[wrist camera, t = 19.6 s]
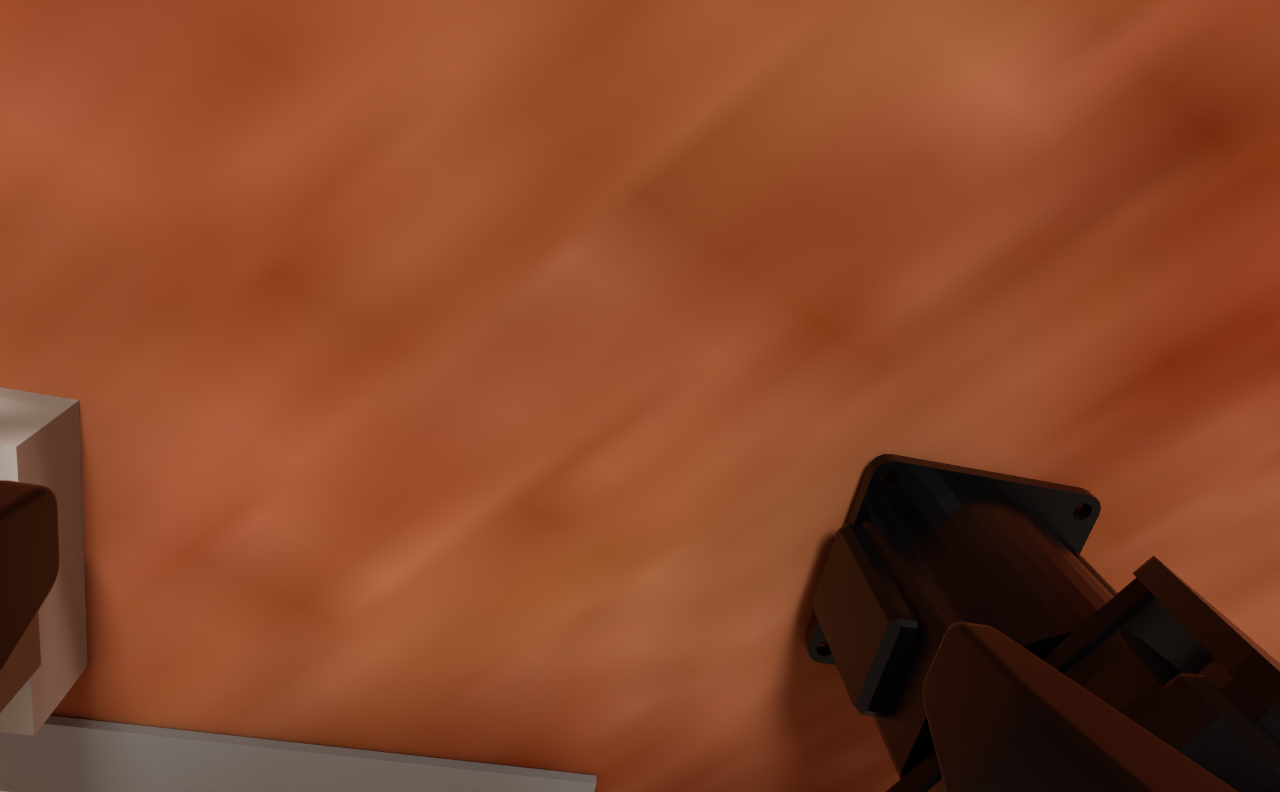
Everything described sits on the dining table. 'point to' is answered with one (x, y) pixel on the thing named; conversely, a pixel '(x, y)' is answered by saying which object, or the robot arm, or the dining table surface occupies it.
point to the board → (238, 765)
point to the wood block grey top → (57, 638)
